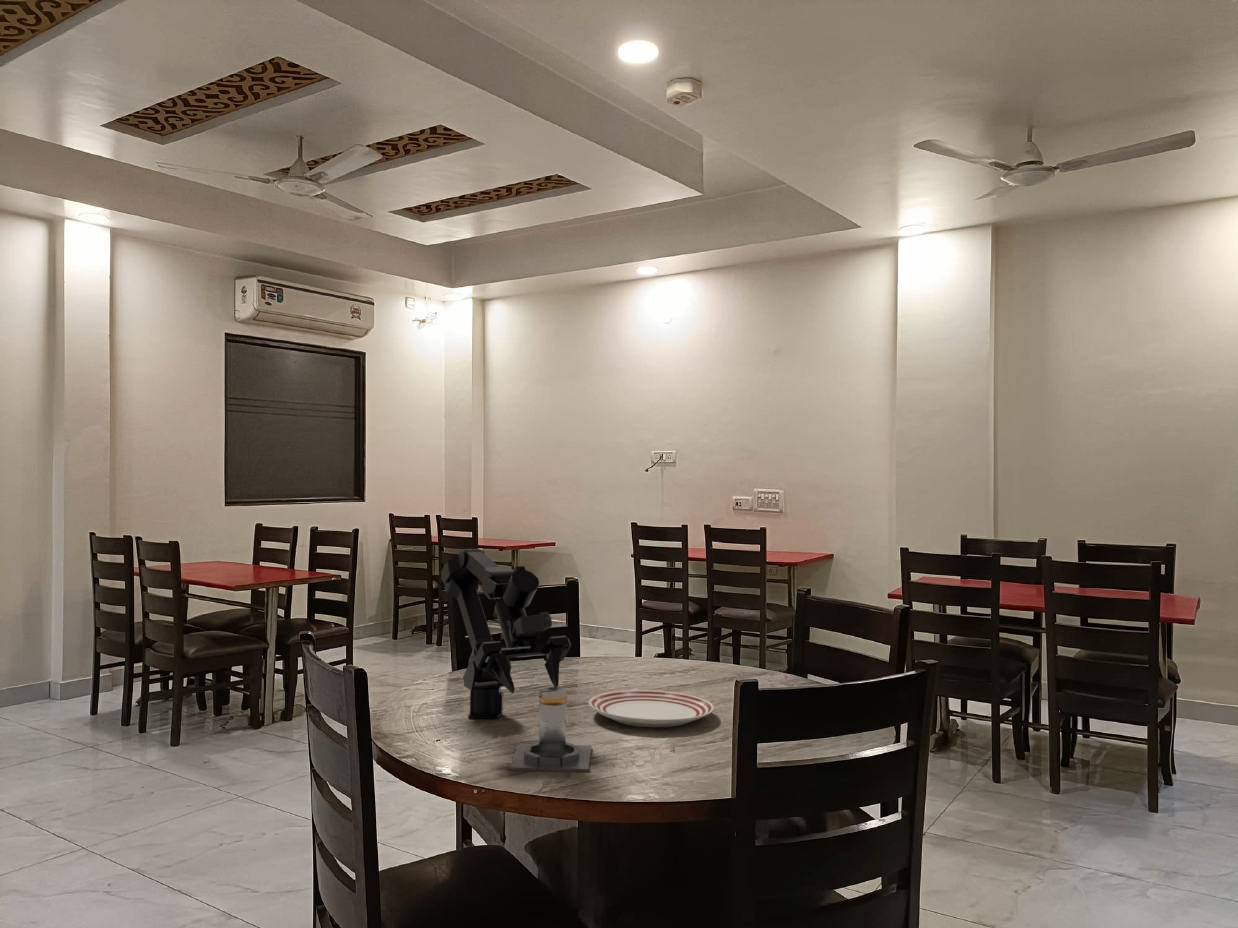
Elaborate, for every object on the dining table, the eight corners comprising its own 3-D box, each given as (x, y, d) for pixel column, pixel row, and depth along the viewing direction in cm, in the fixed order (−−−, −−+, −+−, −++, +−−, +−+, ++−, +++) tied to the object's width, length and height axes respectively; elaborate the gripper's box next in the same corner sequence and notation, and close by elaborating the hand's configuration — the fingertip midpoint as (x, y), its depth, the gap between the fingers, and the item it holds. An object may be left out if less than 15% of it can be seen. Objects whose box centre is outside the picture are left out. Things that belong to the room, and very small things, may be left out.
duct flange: (509, 770, 160) (509, 760, 160) (518, 746, 174) (519, 737, 174) (588, 771, 160) (588, 762, 160) (591, 747, 174) (591, 739, 174)
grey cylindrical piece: (532, 757, 166) (534, 692, 166) (546, 749, 171) (547, 686, 171) (558, 761, 164) (559, 695, 164) (571, 753, 168) (572, 689, 169)
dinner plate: (640, 695, 217) (641, 681, 217) (737, 716, 200) (738, 701, 200) (562, 717, 196) (562, 702, 196) (663, 743, 179) (663, 726, 179)
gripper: (481, 600, 174) (502, 670, 165) (568, 595, 183) (592, 661, 174) (466, 634, 181) (485, 702, 171) (550, 628, 190) (573, 692, 181)
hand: (535, 689), depth 174 cm, fingers open, 9 cm apart
